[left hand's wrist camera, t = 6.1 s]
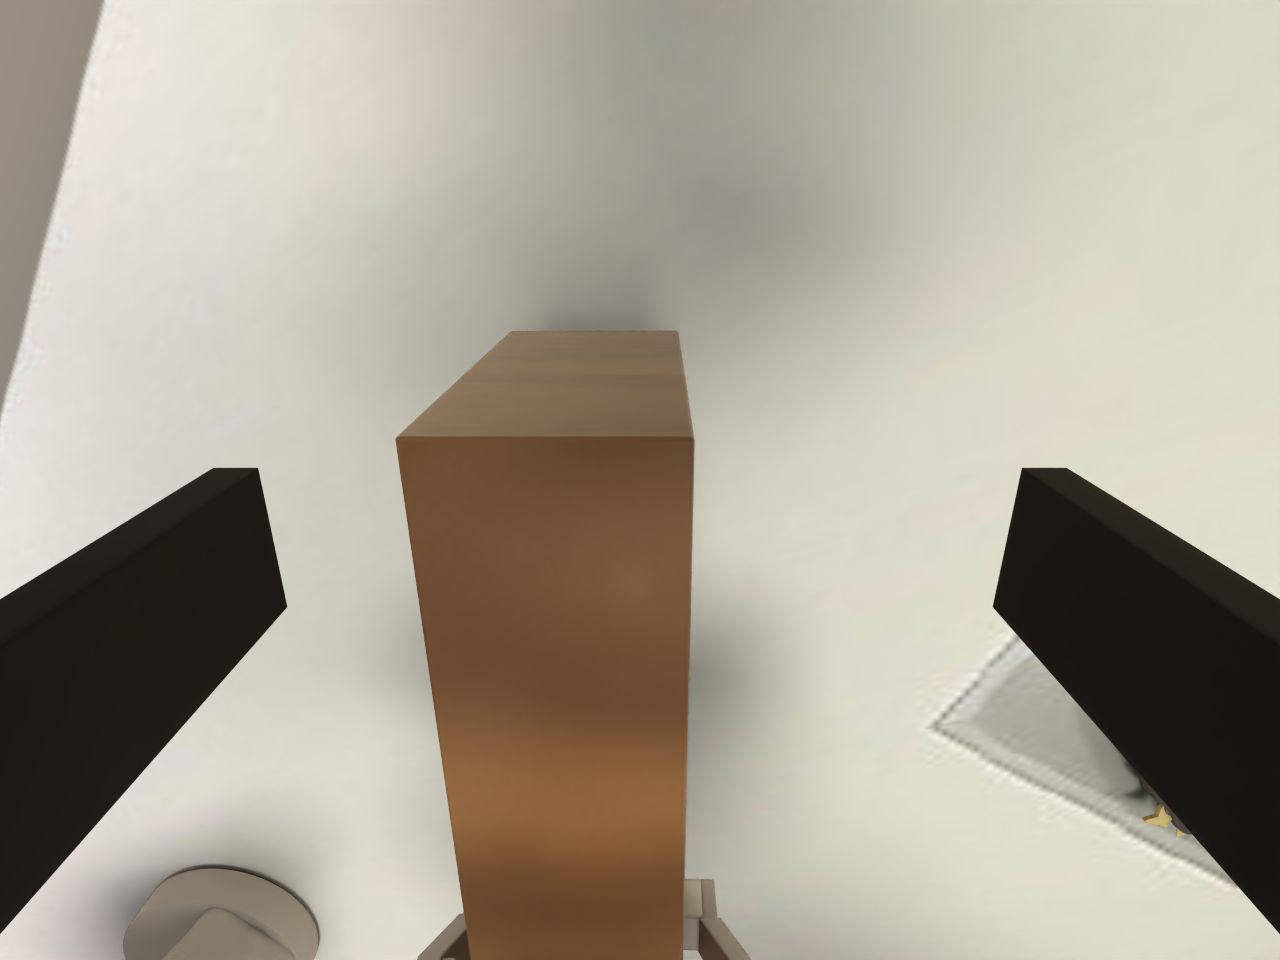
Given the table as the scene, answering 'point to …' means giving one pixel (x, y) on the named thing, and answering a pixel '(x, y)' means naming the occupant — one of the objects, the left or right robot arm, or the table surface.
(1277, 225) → the table surface
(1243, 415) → the table surface
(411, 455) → the box
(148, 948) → the bust sculpture
